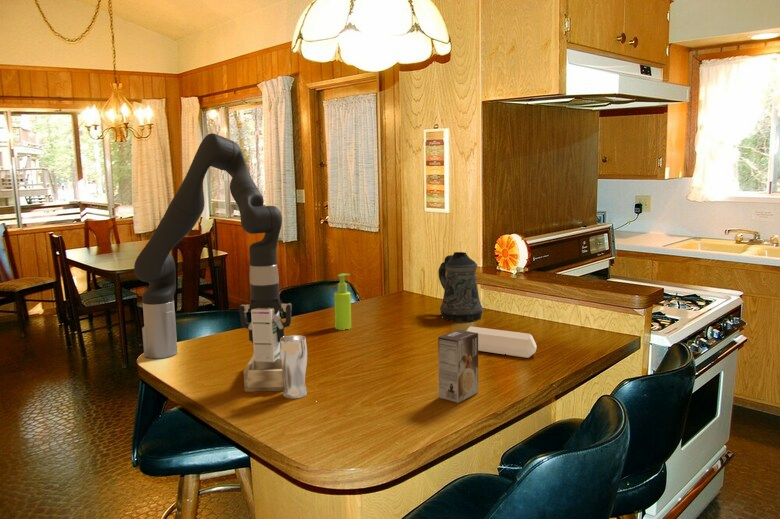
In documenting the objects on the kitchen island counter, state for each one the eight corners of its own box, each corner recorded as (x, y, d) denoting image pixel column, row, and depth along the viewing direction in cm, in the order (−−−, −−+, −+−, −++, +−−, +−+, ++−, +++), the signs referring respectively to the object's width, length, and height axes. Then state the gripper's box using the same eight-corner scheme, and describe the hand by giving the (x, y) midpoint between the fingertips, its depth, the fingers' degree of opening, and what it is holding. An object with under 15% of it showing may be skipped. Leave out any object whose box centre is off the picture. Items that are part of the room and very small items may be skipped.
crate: (244, 391, 159) (243, 371, 158) (257, 366, 179) (256, 349, 178) (286, 390, 159) (285, 370, 158) (294, 365, 179) (294, 348, 178)
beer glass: (296, 401, 152) (294, 343, 149) (275, 396, 155) (273, 339, 153) (314, 392, 158) (312, 336, 155) (293, 387, 161) (291, 333, 159)
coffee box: (458, 387, 160) (458, 328, 158) (478, 393, 156) (479, 332, 153) (437, 397, 153) (437, 336, 151) (458, 403, 149) (458, 340, 147)
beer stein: (475, 323, 225) (475, 257, 221) (426, 318, 233) (426, 254, 229) (487, 313, 239) (488, 251, 236) (441, 309, 248) (441, 249, 244)
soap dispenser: (356, 326, 222) (355, 273, 219) (344, 331, 217) (343, 276, 214) (343, 324, 226) (342, 271, 223) (332, 328, 220) (330, 274, 217)
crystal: (541, 340, 189) (469, 331, 201) (536, 333, 183) (462, 324, 195) (537, 363, 187) (465, 352, 199) (532, 357, 181) (458, 347, 193)
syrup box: (274, 362, 160) (271, 309, 158) (253, 361, 161) (250, 308, 159) (282, 356, 166) (279, 304, 164) (261, 355, 167) (259, 303, 165)
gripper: (234, 284, 156) (237, 347, 159) (290, 283, 157) (292, 345, 160) (239, 279, 164) (242, 339, 166) (293, 278, 164) (295, 337, 167)
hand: (267, 341), depth 163 cm, fingers closed on syrup box, 6 cm apart
